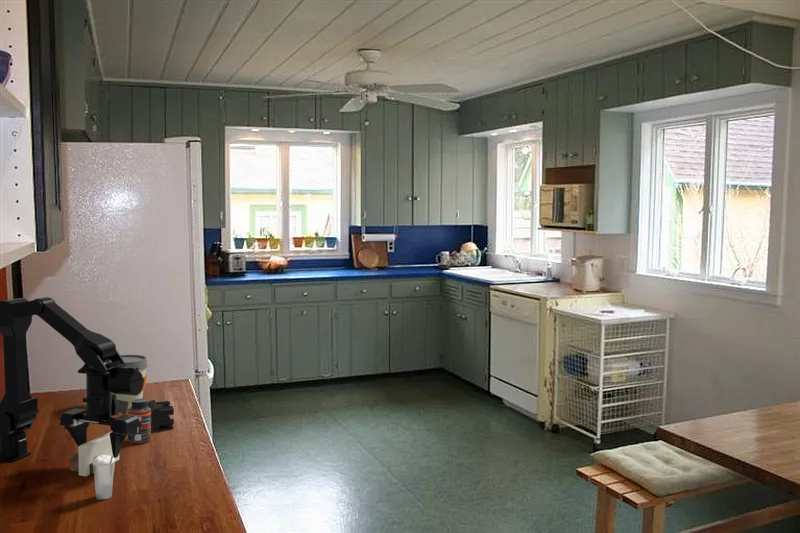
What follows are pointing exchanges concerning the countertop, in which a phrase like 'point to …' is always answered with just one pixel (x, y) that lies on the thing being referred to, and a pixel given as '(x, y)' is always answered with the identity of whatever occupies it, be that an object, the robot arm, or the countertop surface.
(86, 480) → the countertop surface
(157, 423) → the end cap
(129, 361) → the reusable coffee cup
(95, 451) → the cream plate
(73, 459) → the brown wooden flat piece
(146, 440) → the supplement bottle
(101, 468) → the milkshake
